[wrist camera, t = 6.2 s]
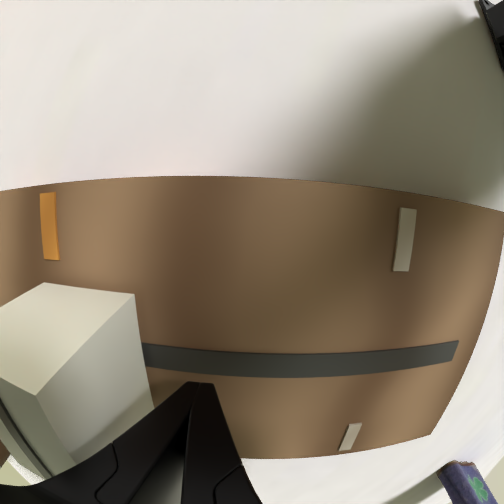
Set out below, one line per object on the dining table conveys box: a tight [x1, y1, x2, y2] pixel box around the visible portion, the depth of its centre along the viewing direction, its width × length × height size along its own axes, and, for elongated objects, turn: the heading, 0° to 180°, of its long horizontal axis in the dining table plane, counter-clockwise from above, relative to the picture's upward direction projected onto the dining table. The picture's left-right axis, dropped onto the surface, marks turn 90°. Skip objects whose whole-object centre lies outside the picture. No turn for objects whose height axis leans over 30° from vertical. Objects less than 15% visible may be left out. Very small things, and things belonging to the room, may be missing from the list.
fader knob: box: [0, 282, 154, 480], centre depth 6 cm, size 4×5×5 cm
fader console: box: [0, 176, 504, 459], centre depth 10 cm, size 23×12×3 cm, turn 88°
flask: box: [437, 460, 498, 504], centre depth 11 cm, size 9×3×11 cm, turn 55°
